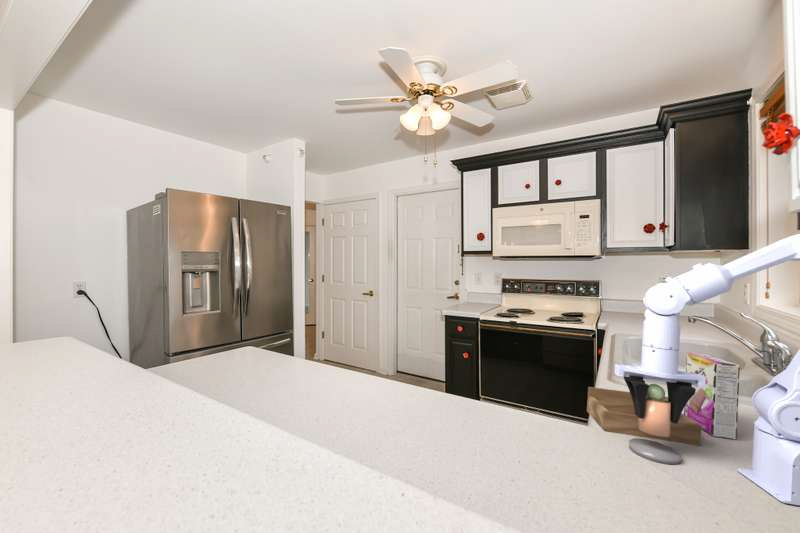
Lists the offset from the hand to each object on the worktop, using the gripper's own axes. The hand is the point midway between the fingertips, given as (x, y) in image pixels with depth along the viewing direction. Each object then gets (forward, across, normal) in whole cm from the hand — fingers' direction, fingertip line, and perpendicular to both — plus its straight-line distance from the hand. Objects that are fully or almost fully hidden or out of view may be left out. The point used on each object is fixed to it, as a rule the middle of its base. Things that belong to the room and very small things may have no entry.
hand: (655, 419), depth 67 cm
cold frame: (+6, -3, -14) cm, 16 cm away
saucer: (+6, 0, 0) cm, 6 cm away
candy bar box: (+7, -20, -20) cm, 29 cm away
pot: (+3, 0, 0) cm, 3 cm away
